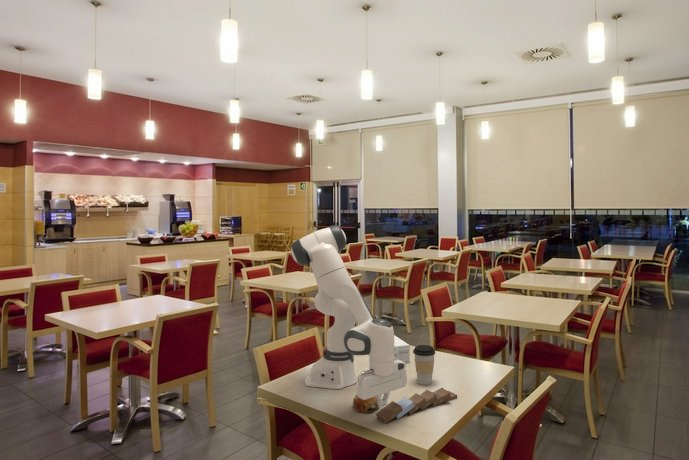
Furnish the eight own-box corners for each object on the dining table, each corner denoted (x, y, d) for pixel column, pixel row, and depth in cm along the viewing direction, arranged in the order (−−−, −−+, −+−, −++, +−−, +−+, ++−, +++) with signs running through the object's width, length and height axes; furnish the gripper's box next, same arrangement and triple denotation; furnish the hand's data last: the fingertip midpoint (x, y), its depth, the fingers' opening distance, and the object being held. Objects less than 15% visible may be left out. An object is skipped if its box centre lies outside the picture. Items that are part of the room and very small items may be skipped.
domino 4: (420, 406, 164) (435, 394, 168) (411, 401, 169) (426, 389, 172) (421, 410, 165) (437, 398, 168) (413, 405, 169) (428, 393, 173)
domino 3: (408, 410, 161) (424, 397, 165) (400, 405, 165) (415, 393, 169) (410, 414, 162) (426, 402, 165) (401, 409, 166) (417, 397, 170)
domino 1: (383, 419, 155) (401, 406, 158) (375, 413, 159) (392, 400, 163) (385, 423, 155) (402, 410, 159) (377, 418, 159) (394, 405, 163)
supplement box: (371, 355, 227) (371, 337, 227) (395, 352, 231) (395, 334, 231) (384, 366, 211) (384, 347, 211) (410, 363, 215) (409, 344, 215)
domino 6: (442, 399, 170) (457, 394, 175) (433, 395, 175) (447, 390, 179) (442, 404, 171) (457, 399, 175) (433, 400, 175) (447, 395, 179)
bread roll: (379, 413, 171) (378, 391, 174) (380, 413, 162) (379, 389, 165) (353, 413, 172) (353, 391, 175) (353, 413, 162) (352, 389, 165)
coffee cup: (435, 387, 186) (435, 351, 185) (412, 386, 187) (412, 350, 187) (435, 378, 195) (435, 344, 194) (413, 377, 197) (413, 343, 196)
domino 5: (432, 402, 167) (449, 392, 170) (425, 396, 172) (441, 387, 175) (433, 406, 168) (450, 397, 171) (426, 401, 172) (443, 391, 175)
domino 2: (389, 413, 163) (405, 401, 166) (398, 419, 158) (414, 406, 162) (388, 409, 162) (404, 397, 166) (396, 414, 158) (413, 401, 162)
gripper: (363, 375, 148) (364, 416, 149) (409, 362, 160) (409, 400, 160) (352, 370, 153) (353, 409, 154) (397, 357, 165) (398, 394, 166)
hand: (382, 405), depth 157 cm, fingers closed
